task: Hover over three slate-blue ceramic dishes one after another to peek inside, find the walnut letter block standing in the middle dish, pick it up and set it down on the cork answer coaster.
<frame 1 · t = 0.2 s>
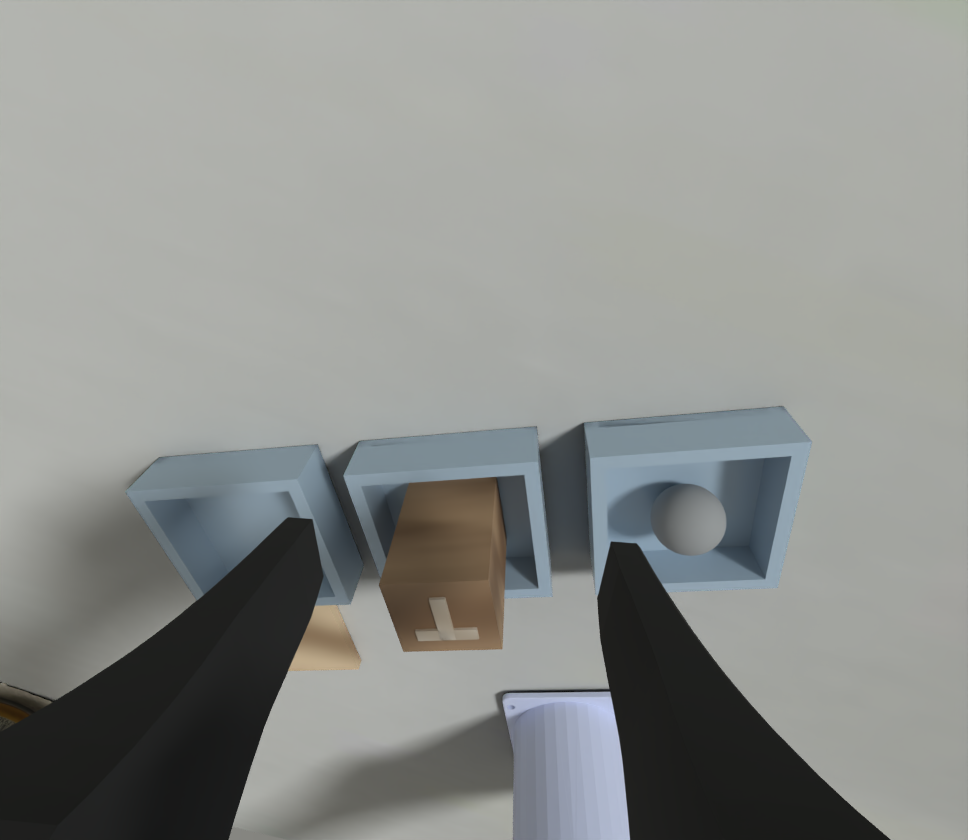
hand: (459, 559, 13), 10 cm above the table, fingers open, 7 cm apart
dish c: (267, 514, 26), on the table
letter block: (459, 509, 25), resting on dish b
answer coaster: (290, 627, 31), on the table
dish b: (460, 502, 25), on the table
condiment: (13, 708, 40), on the table
grey ball: (678, 495, 23), resting on dish a
dish a: (675, 488, 24), on the table
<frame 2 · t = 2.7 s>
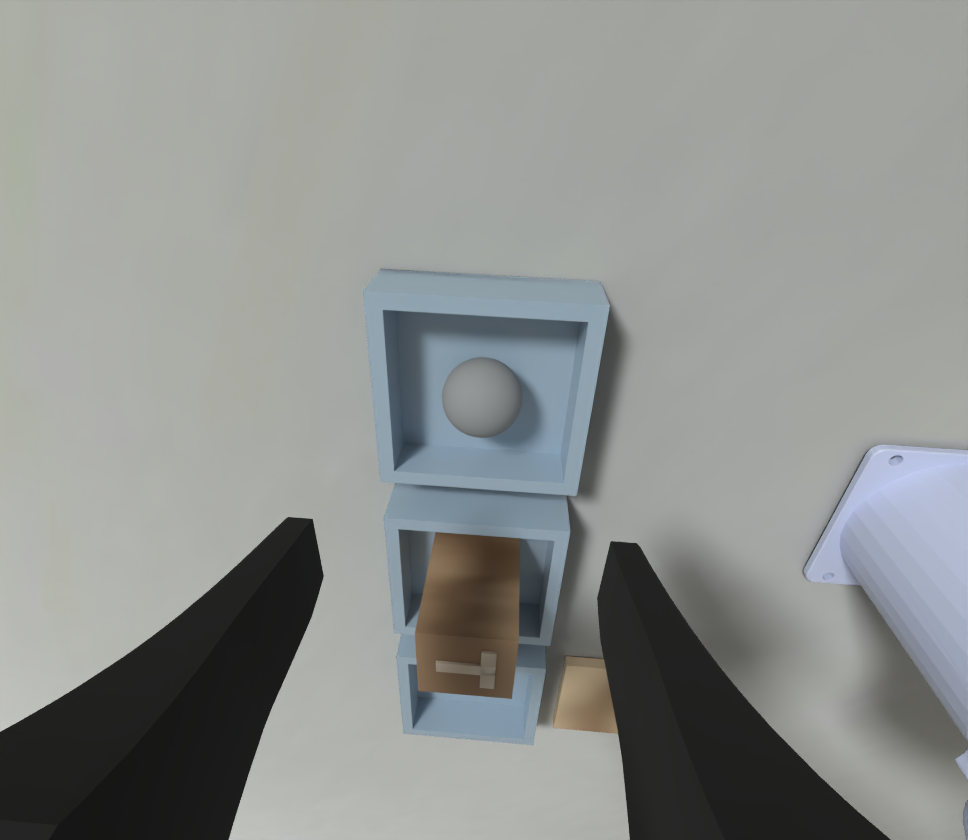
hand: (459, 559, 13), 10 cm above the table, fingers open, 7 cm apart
dish c: (473, 663, 32), on the table
letter block: (477, 555, 26), resting on dish b
answer coaster: (614, 693, 33), on the table
dish b: (478, 547, 26), on the table
grey ball: (484, 378, 21), resting on dish a
dish a: (485, 373, 21), on the table
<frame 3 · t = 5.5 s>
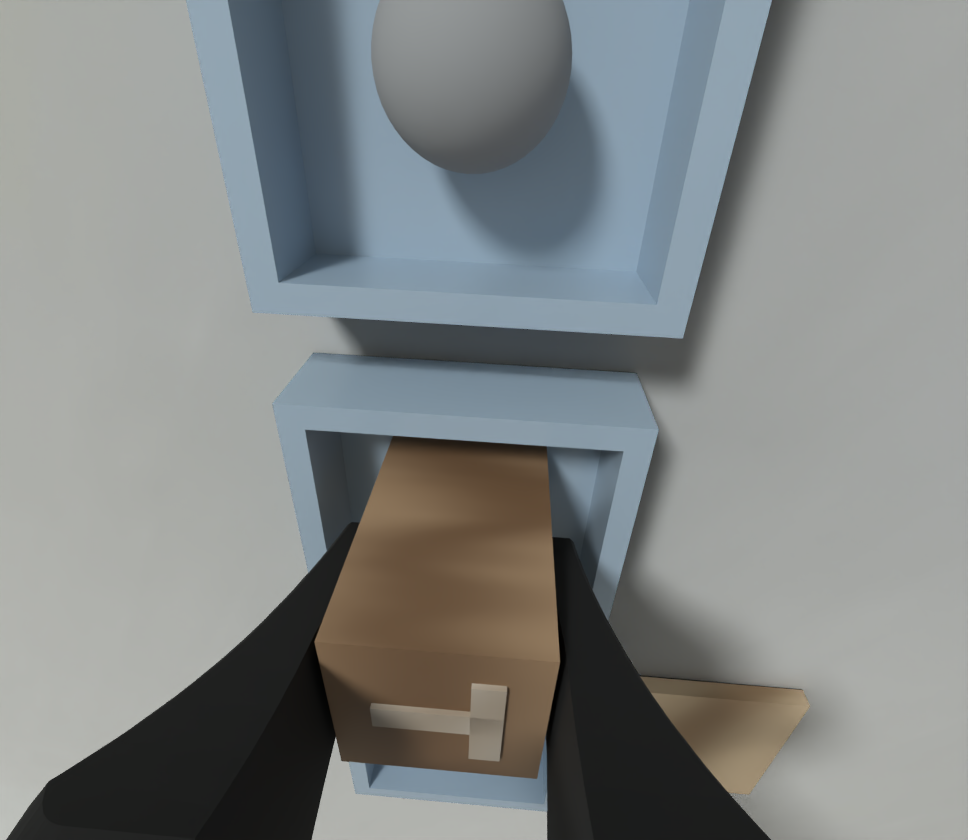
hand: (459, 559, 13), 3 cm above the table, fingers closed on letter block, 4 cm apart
dish c: (463, 684, 20), on the table
letter block: (467, 499, 14), resting on dish b, touching gripper
answer coaster: (683, 730, 21), on the table
dish b: (469, 487, 15), on the table
grey ball: (479, 68, 9), resting on dish a
dish a: (481, 69, 10), on the table
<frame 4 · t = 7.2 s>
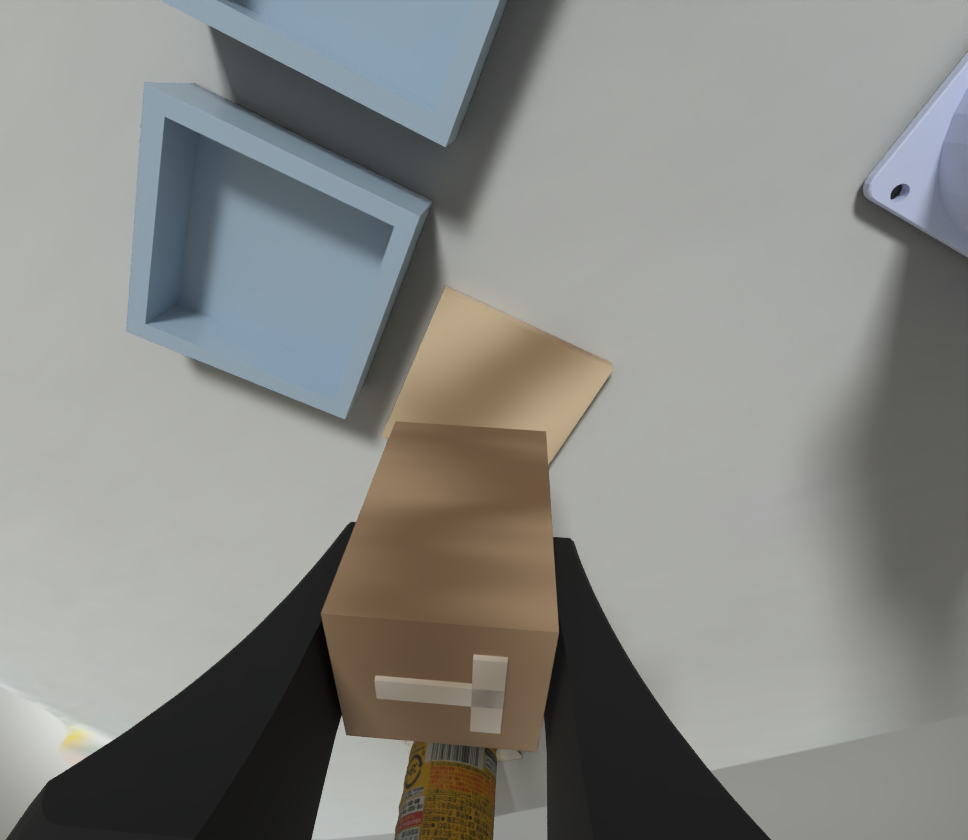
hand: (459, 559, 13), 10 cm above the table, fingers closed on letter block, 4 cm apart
dish c: (290, 257, 19), on the table
letter block: (468, 484, 15), point 7 cm above the table, touching gripper
answer coaster: (491, 397, 21), on the table
condiment: (451, 730, 36), on the table
when the fingers open (4 cm above the table, at t = 8.9 s): letter block stays where it is, resting on answer coaster.
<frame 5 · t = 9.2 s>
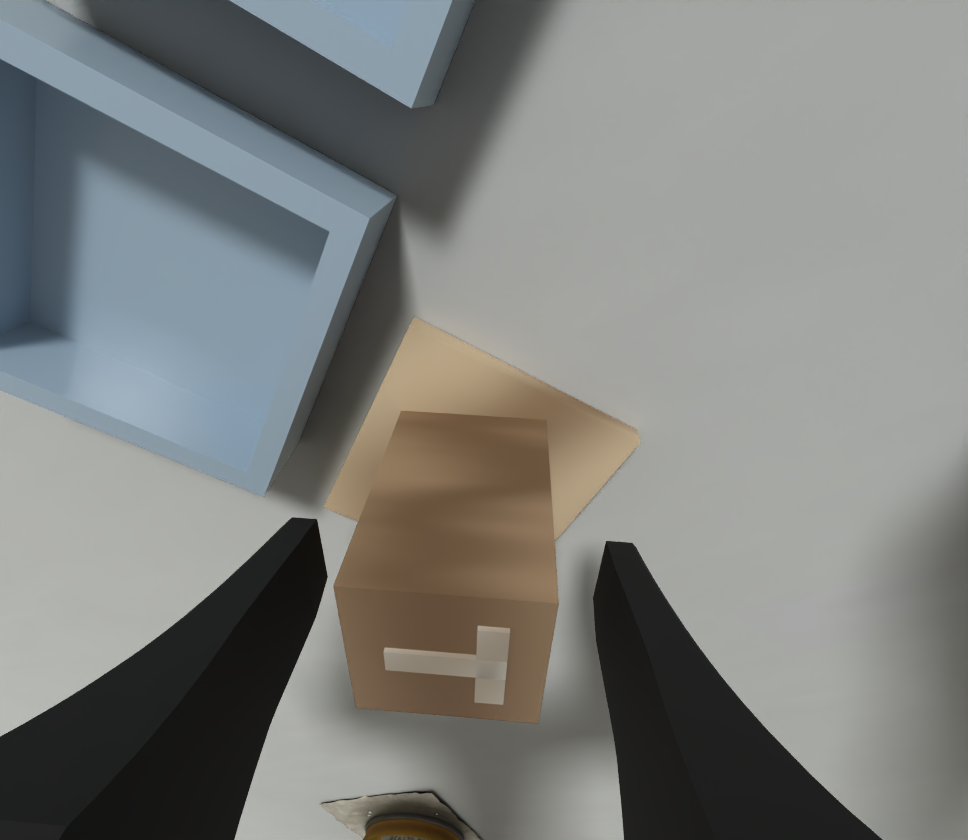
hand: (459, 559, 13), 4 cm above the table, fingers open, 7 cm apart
dish c: (191, 265, 13), on the table
letter block: (472, 472, 15), point 1 cm above the table, touching answer coaster
answer coaster: (472, 464, 16), on the table
condiment: (410, 821, 31), on the table
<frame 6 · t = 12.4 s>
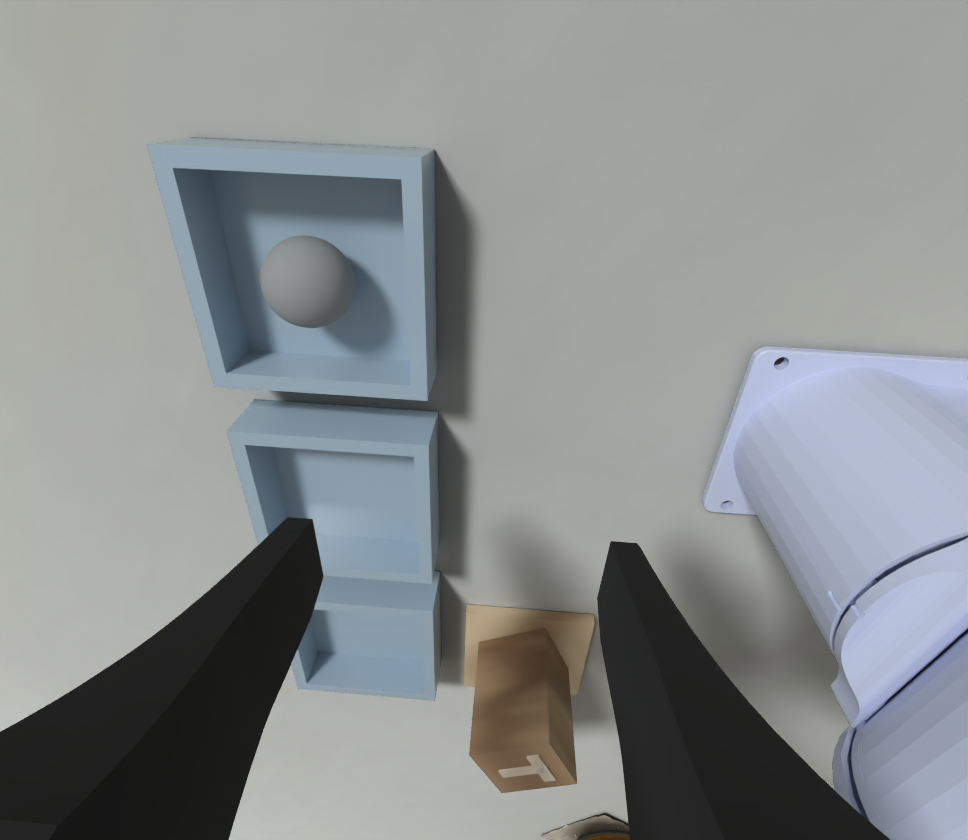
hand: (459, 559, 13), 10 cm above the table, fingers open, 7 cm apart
dish c: (371, 613, 30), on the table
letter block: (524, 655, 30), point 1 cm above the table, touching answer coaster
answer coaster: (524, 647, 31), on the table
dish b: (354, 478, 24), on the table
condiment: (605, 836, 44), on the table
grey ball: (323, 269, 19), resting on dish a
dish a: (328, 265, 19), on the table
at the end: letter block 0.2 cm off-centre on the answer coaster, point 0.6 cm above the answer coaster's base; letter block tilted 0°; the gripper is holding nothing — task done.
